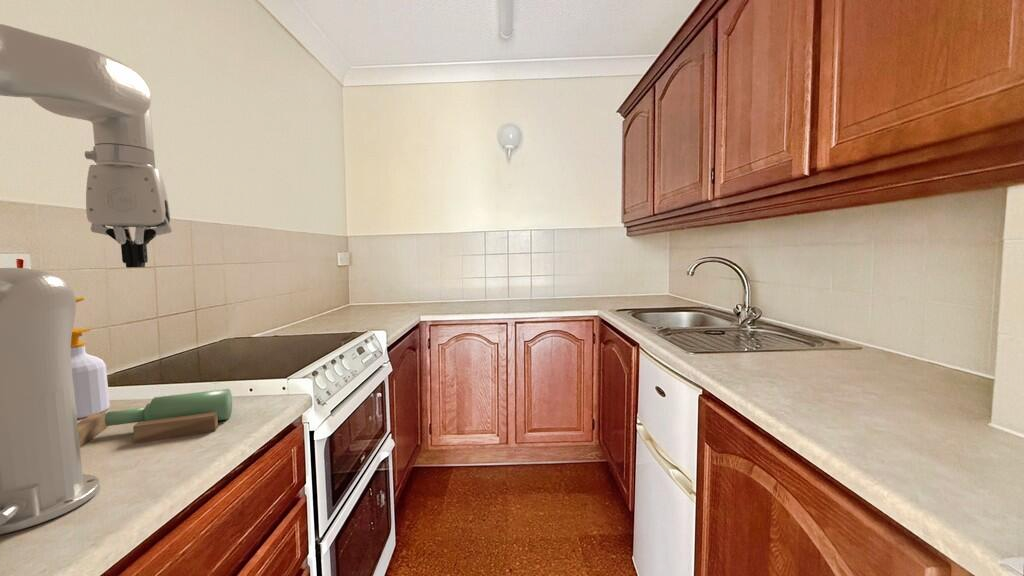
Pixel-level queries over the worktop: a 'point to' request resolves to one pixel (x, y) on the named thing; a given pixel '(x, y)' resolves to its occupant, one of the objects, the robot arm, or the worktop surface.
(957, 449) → the worktop surface
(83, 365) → the soap bottle
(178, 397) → the bottle
